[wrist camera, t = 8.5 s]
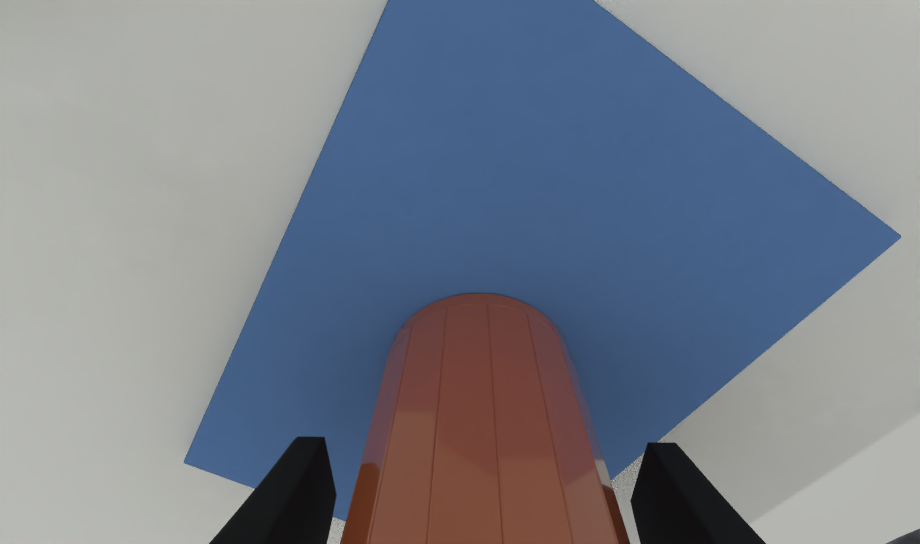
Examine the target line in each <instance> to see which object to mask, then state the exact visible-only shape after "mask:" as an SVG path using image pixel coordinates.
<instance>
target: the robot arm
mask: <svg viewBox="0 0 920 544" xmlns="http://www.w3.org/2000/svg"><path fill="white" fill-rule="evenodd" d="M336 497H337V494H336V489H335V484H334V479H333V475H332V470H331V465H330V460H329V455H328V451H327V446H326V441H325V437H306V436H298V437H297V438H295V439H294V440H293V441H292V443H291V444H290V445H289V447H288V448H287V449H286V451H285V452H284V453H283V454H282V456H281V457H280V458H279V460H278V461H277V462H276V463H275V465H274V466H273V467H272V469H271V470H270V471H269V472H268V474H267V475H266V476H265V477H264V479H263V480H262V481H261V482H260V484H259V485H258V486H257V487H256V489H255V490H254V491H253V492H252V494H251V495H250V496H249V497H248V499H247V500H246V501H245V502H244V503H243V504H242V506H241V507H240V508H239V509H238V510H237V512H236V513H235V514H234V515H233V516H232V518H231V519H230V520H229V521H228V522H227V524H226V525H225V526H224V527H223V528H222V529H221V531H220V532H219V533H218V534H217V535H216V536H215V538H214V539H213V540H212V541H211V542H210V543H209V544H327V540H328V535H329V531H330V526H331V522H332V517H333V512H334V507H335V502H336ZM631 505H632V509H633V514H634V518H635V522H636V527H637V531H638V535H639V538H640V542H641V544H766V543H765V542H764V541H763V540H762V539H761V538H760V537H759V536H758V535H757V534H756V533H755V531H754V530H753V529H752V528H751V527H750V526H749V525H748V524H747V523H746V522H745V521H744V520H743V518H742V517H741V516H740V515H739V514H738V513H737V512H736V511H735V510H734V509H733V507H732V506H731V505H730V504H729V503H728V502H727V501H726V500H725V498H724V497H723V496H722V495H721V494H720V493H719V492H718V491H717V489H716V488H715V487H714V486H713V485H712V484H711V483H710V481H709V480H708V479H707V478H706V477H705V476H704V475H703V473H702V472H701V471H700V470H699V469H698V468H697V467H696V465H695V464H694V463H693V462H692V461H691V460H690V459H689V457H688V456H687V455H686V454H685V453H684V452H683V451H682V449H681V448H680V447H679V446H678V445H677V444H676V443H651V442H648V443H647V446H646V450H645V453H644V457H643V460H642V464H641V467H640V470H639V474H638V477H637V481H636V484H635V488H634V491H633V495H632V498H631Z"/></svg>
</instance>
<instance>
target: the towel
mask: <svg viewBox="0 0 920 544" xmlns="http://www.w3.org/2000/svg"><path fill="white" fill-rule="evenodd" d="M900 238H901V235H899V234H898V233H897V232H896V231H894V230H893V229H892V228H890V227H889V226H888V225H886V224H885V223H884V222H882V221H881V220H880V219H879V218H877V217H876V216H875V215H873V214H872V213H871V212H869V211H868V210H867V209H865V208H864V207H863V206H862V205H860V204H859V203H858V202H856V201H855V200H854V199H852V198H851V197H850V196H848V195H847V194H846V193H845V192H843V191H842V190H841V189H839V188H838V187H837V186H835V185H834V184H833V183H831V182H830V181H829V180H828V179H826V178H825V177H824V176H822V175H821V174H820V173H818V172H817V171H816V170H814V169H813V168H812V167H811V166H809V165H808V164H807V163H805V162H804V161H803V160H801V159H800V158H799V157H797V156H796V155H795V154H794V153H792V152H791V151H790V150H788V149H787V148H786V147H784V146H783V145H782V144H780V143H779V142H778V141H777V140H775V139H774V138H773V137H771V136H770V135H769V134H767V133H766V132H765V131H763V130H762V129H761V128H760V127H758V126H757V125H756V124H754V123H753V122H752V121H750V120H749V119H748V118H746V117H745V116H744V115H743V114H741V113H740V112H739V111H737V110H736V109H735V108H733V107H732V106H731V105H729V104H728V103H727V102H726V101H724V100H723V99H722V98H720V97H719V96H718V95H716V94H715V93H714V92H712V91H711V90H710V89H709V88H707V87H706V86H705V85H703V84H702V83H701V82H699V81H698V80H697V79H695V78H694V77H693V76H692V75H690V74H689V73H688V72H686V71H685V70H684V69H682V68H681V67H680V66H678V65H677V64H676V63H675V62H673V61H672V60H671V59H669V58H668V57H667V56H665V55H664V54H663V53H661V52H660V51H659V50H658V49H656V48H655V47H654V46H652V45H651V44H650V43H648V42H647V41H646V40H644V39H643V38H642V37H641V36H639V35H638V34H637V33H635V32H634V31H633V30H631V29H630V28H629V27H627V26H626V25H625V24H624V23H622V22H621V21H620V20H618V19H617V18H616V17H614V16H613V15H612V14H610V13H609V12H608V11H607V10H605V9H604V8H603V7H601V6H600V5H599V4H597V3H596V2H595V1H593V0H388V2H387V4H386V7H385V9H384V11H383V13H382V16H381V18H380V20H379V22H378V25H377V27H376V29H375V31H374V34H373V36H372V38H371V40H370V43H369V45H368V47H367V49H366V52H365V54H364V56H363V58H362V61H361V63H360V65H359V67H358V70H357V72H356V74H355V77H354V79H353V81H352V83H351V86H350V88H349V90H348V92H347V95H346V97H345V99H344V101H343V104H342V106H341V108H340V110H339V113H338V115H337V117H336V119H335V122H334V124H333V126H332V128H331V131H330V133H329V135H328V137H327V140H326V142H325V144H324V146H323V149H322V151H321V153H320V155H319V158H318V160H317V162H316V164H315V167H314V169H313V171H312V174H311V176H310V178H309V180H308V183H307V185H306V187H305V189H304V192H303V194H302V196H301V198H300V201H299V203H298V205H297V207H296V210H295V212H294V214H293V216H292V219H291V221H290V223H289V225H288V228H287V230H286V232H285V234H284V237H283V239H282V241H281V243H280V246H279V248H278V250H277V252H276V255H275V257H274V259H273V261H272V264H271V266H270V268H269V270H268V273H267V275H266V277H265V280H264V282H263V284H262V286H261V289H260V291H259V293H258V295H257V298H256V300H255V302H254V304H253V307H252V309H251V311H250V313H249V316H248V318H247V320H246V322H245V325H244V327H243V329H242V331H241V334H240V336H239V338H238V340H237V343H236V345H235V347H234V349H233V352H232V354H231V356H230V358H229V361H228V363H227V365H226V367H225V370H224V372H223V374H222V376H221V379H220V381H219V383H218V386H217V388H216V390H215V392H214V395H213V397H212V399H211V401H210V404H209V406H208V408H207V410H206V413H205V415H204V417H203V419H202V422H201V424H200V426H199V428H198V431H197V433H196V435H195V437H194V440H193V442H192V444H191V446H190V449H189V451H188V453H187V455H186V458H185V460H184V463H185V464H188V465H191V466H194V467H196V468H199V469H202V470H205V471H207V472H210V473H213V474H216V475H219V476H221V477H224V478H227V479H230V480H232V481H235V482H238V483H241V484H244V485H246V486H249V487H252V488H255V489H256V487H257V486H258V485H259V484H260V482H261V481H262V480H263V479H264V477H265V476H266V475H267V474H268V472H269V471H270V470H271V469H272V467H273V466H274V465H275V463H276V462H277V461H278V460H279V458H280V457H281V456H282V454H283V453H284V452H285V451H286V449H287V448H288V447H289V445H290V444H291V443H292V441H293V440H294V439H295V438H297V437H298V436H306V437H325V441H326V446H327V451H328V455H329V460H330V465H331V470H332V475H333V479H334V484H335V489H336V494H337V497H336V502H335V507H334V512H333V517H335V518H338V519H341V520H343V521H346V519H347V515H348V511H349V507H350V503H351V499H352V495H353V491H354V487H355V484H356V480H357V476H358V472H359V468H360V464H361V460H362V456H363V452H364V448H365V444H366V440H367V436H368V432H369V429H370V425H371V421H372V417H373V413H374V409H375V405H376V401H377V397H378V393H379V389H380V385H381V381H382V378H383V374H384V370H385V366H386V362H387V358H388V354H389V351H390V348H391V345H392V342H393V340H394V338H395V336H396V334H397V332H398V331H399V330H400V328H401V327H402V326H403V324H404V323H405V322H406V321H407V320H408V319H409V318H410V317H412V316H413V315H414V314H416V313H417V312H418V311H420V310H421V309H423V308H424V307H426V306H428V305H430V304H432V303H434V302H436V301H439V300H441V299H444V298H448V297H451V296H455V295H462V294H469V293H488V294H497V295H502V296H507V297H510V298H513V299H517V300H519V301H521V302H524V303H526V304H528V305H530V306H532V307H533V308H535V309H537V310H538V311H540V312H541V313H542V314H544V315H545V316H546V317H547V318H549V320H550V321H551V322H552V323H553V324H554V325H555V326H556V327H557V329H558V330H559V332H560V333H561V335H562V337H563V339H564V341H565V343H566V346H567V349H568V352H569V355H570V356H571V358H572V360H573V363H574V366H575V369H576V372H577V375H578V379H579V382H580V385H581V388H582V391H583V395H584V398H585V401H586V404H587V407H588V411H589V414H590V417H591V420H592V423H593V427H594V430H595V433H596V436H597V439H598V443H599V446H600V449H601V452H602V455H603V459H604V462H605V465H606V468H607V471H608V475H609V478H610V481H611V480H612V479H613V478H614V477H616V476H617V475H618V474H619V473H620V472H622V471H623V470H624V469H625V468H626V467H627V466H629V465H630V464H631V463H632V462H633V461H635V460H636V459H637V458H638V457H639V456H641V455H642V454H643V453H644V452H645V450H646V446H647V443H648V442H651V443H656V442H657V441H659V440H660V439H661V438H662V437H663V436H665V435H666V434H667V433H668V432H669V431H670V430H672V429H673V428H674V427H675V426H676V425H678V424H679V423H680V422H681V421H682V420H684V419H685V418H686V417H687V416H688V415H690V414H691V413H692V412H693V411H694V410H696V409H697V408H698V407H699V406H700V405H702V404H703V403H704V402H705V401H706V400H708V399H709V398H710V397H711V396H712V395H713V394H715V393H716V392H717V391H718V390H719V389H721V388H722V387H723V386H724V385H725V384H727V383H728V382H729V381H730V380H731V379H733V378H734V377H735V376H736V375H737V374H739V373H740V372H741V371H742V370H743V369H745V368H746V367H747V366H748V365H749V364H751V363H752V362H753V361H754V360H755V359H756V358H758V357H759V356H760V355H761V354H762V353H764V352H765V351H766V350H767V349H768V348H770V347H771V346H772V345H773V344H774V343H776V342H777V341H778V340H779V339H780V338H782V337H783V336H784V335H785V334H786V333H788V332H789V331H790V330H791V329H792V328H794V327H795V326H796V325H797V324H798V323H799V322H801V321H802V320H803V319H804V318H805V317H807V316H808V315H809V314H810V313H811V312H813V311H814V310H815V309H816V308H817V307H819V306H820V305H821V304H822V303H823V302H825V301H826V300H827V299H828V298H829V297H831V296H832V295H833V294H834V293H835V292H837V291H838V290H839V289H840V288H841V287H843V286H844V285H845V284H846V283H847V282H848V281H850V280H851V279H852V278H853V277H854V276H856V275H857V274H858V273H859V272H860V271H862V270H863V269H864V268H865V267H866V266H868V265H869V264H870V263H871V262H872V261H874V260H875V259H876V258H877V257H878V256H880V255H881V254H882V253H883V252H884V251H886V250H887V249H888V248H889V247H890V246H891V245H893V244H894V243H895V242H896V241H897V240H899V239H900Z"/></svg>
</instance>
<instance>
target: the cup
mask: <svg viewBox="0 0 920 544" xmlns="http://www.w3.org/2000/svg"><path fill="white" fill-rule="evenodd" d="M340 544H630V542H629V539H628V535H627V532H626V529H625V526H624V523H623V519H622V516H621V513H620V510H619V507H618V503H617V500H616V497H615V494H614V491H613V487H612V484H611V481H610V478H609V475H608V471H607V468H606V465H605V462H604V459H603V455H602V452H601V449H600V446H599V443H598V439H597V436H596V433H595V430H594V427H593V423H592V420H591V417H590V414H589V411H588V407H587V404H586V401H585V398H584V395H583V391H582V388H581V385H580V382H579V379H578V375H577V372H576V369H575V366H574V363H573V360H572V358H571V356H570V355H569V352H568V349H567V346H566V343H565V341H564V339H563V337H562V335H561V333H560V332H559V330H558V329H557V327H556V326H555V325H554V324H553V323H552V322H551V321H550V320H549V318H547V317H546V316H545V315H544V314H542V313H541V312H540V311H538V310H537V309H535V308H533V307H532V306H530V305H528V304H526V303H524V302H521V301H519V300H517V299H513V298H510V297H507V296H502V295H497V294H488V293H469V294H462V295H455V296H451V297H448V298H444V299H441V300H439V301H436V302H434V303H432V304H430V305H428V306H426V307H424V308H423V309H421V310H420V311H418V312H417V313H416V314H414V315H413V316H412V317H410V318H409V319H408V320H407V321H406V322H405V323H404V324H403V326H402V327H401V328H400V330H399V331H398V332H397V334H396V336H395V338H394V340H393V342H392V345H391V348H390V351H389V354H388V358H387V362H386V366H385V370H384V374H383V378H382V381H381V385H380V389H379V393H378V397H377V401H376V405H375V409H374V413H373V417H372V421H371V425H370V429H369V432H368V436H367V440H366V444H365V448H364V452H363V456H362V460H361V464H360V468H359V472H358V476H357V480H356V484H355V487H354V491H353V495H352V499H351V503H350V507H349V511H348V515H347V519H346V523H345V527H344V531H343V535H342V538H341V542H340Z"/></svg>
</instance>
